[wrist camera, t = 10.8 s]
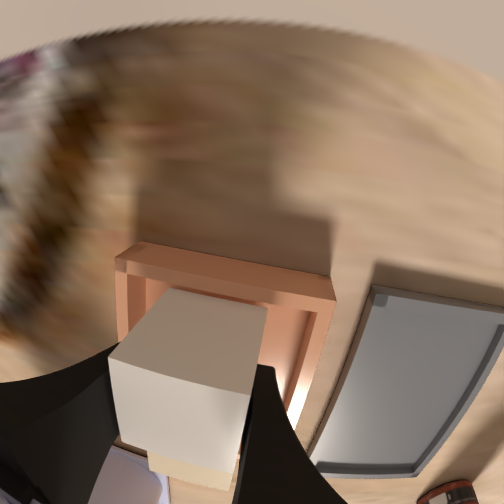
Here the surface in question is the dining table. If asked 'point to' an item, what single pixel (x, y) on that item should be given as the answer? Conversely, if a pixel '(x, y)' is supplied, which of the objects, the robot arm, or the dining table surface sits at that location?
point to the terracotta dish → (239, 290)
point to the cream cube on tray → (188, 377)
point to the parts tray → (405, 383)
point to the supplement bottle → (451, 494)
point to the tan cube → (189, 472)
